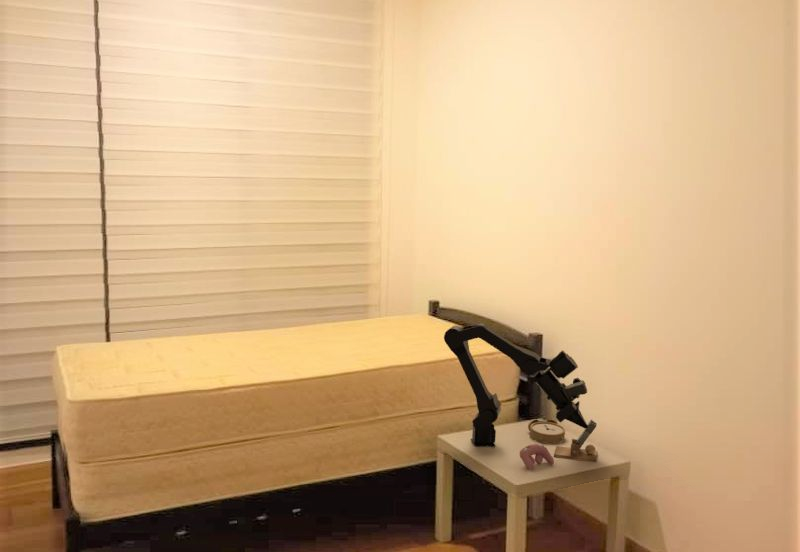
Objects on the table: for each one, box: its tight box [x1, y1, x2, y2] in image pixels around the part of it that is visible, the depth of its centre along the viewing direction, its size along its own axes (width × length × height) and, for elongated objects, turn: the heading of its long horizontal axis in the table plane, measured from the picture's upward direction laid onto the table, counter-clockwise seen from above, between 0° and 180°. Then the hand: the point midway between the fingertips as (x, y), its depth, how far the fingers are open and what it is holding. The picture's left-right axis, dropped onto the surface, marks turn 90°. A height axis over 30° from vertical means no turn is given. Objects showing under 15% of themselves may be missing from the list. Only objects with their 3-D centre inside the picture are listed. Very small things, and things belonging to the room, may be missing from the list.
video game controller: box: [519, 443, 555, 471], centre depth 219 cm, size 10×5×7 cm, turn 123°
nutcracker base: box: [553, 438, 598, 463], centre depth 229 cm, size 12×8×4 cm, turn 73°
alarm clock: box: [527, 418, 566, 444], centre depth 246 cm, size 11×5×15 cm
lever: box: [574, 419, 597, 449], centre depth 228 cm, size 2×3×10 cm, turn 164°
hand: (586, 427), depth 227 cm, fingers closed, pressing on lever
